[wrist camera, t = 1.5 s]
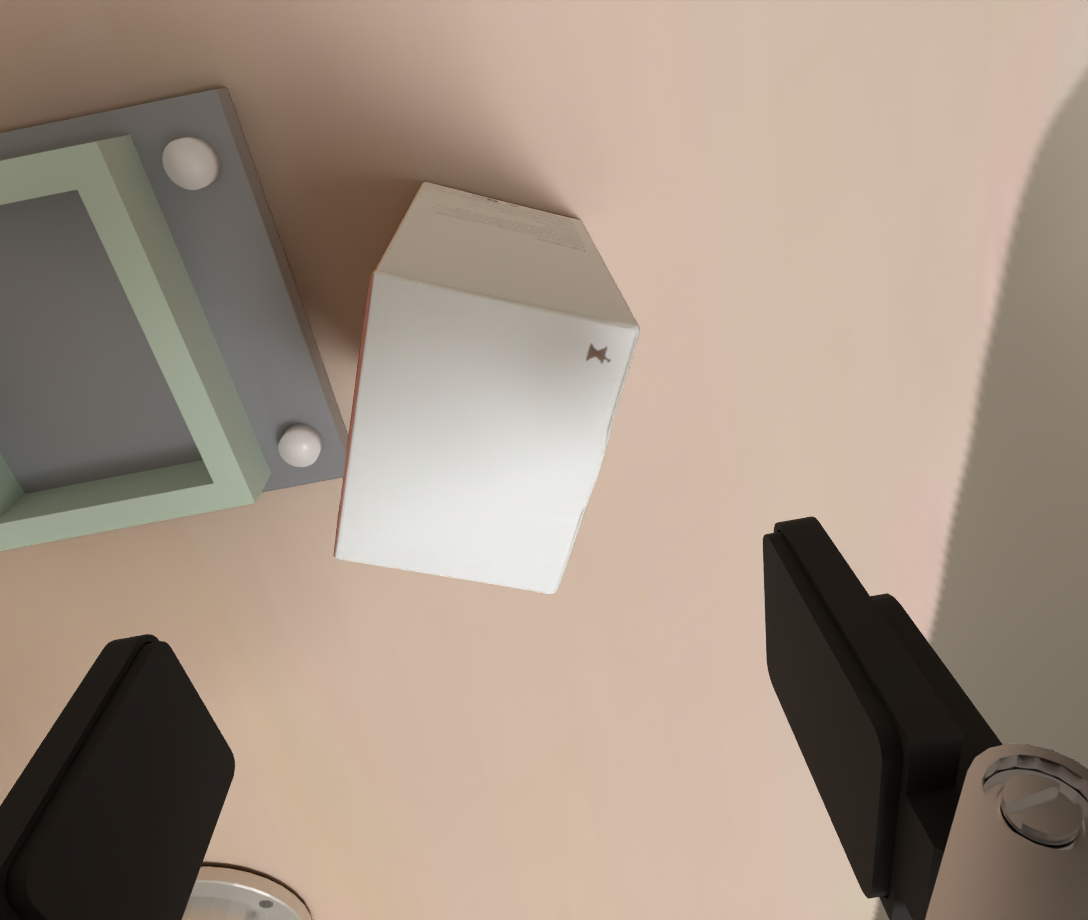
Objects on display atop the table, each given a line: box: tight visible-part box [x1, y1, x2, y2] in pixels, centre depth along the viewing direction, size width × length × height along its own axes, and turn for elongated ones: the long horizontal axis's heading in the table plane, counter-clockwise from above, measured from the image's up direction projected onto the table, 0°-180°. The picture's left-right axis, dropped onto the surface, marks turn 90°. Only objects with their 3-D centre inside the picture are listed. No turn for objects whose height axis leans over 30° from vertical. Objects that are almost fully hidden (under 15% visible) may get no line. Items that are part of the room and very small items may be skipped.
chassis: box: [0, 88, 348, 551], centre depth 27 cm, size 15×18×4 cm
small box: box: [334, 182, 640, 595], centre depth 24 cm, size 8×6×13 cm
